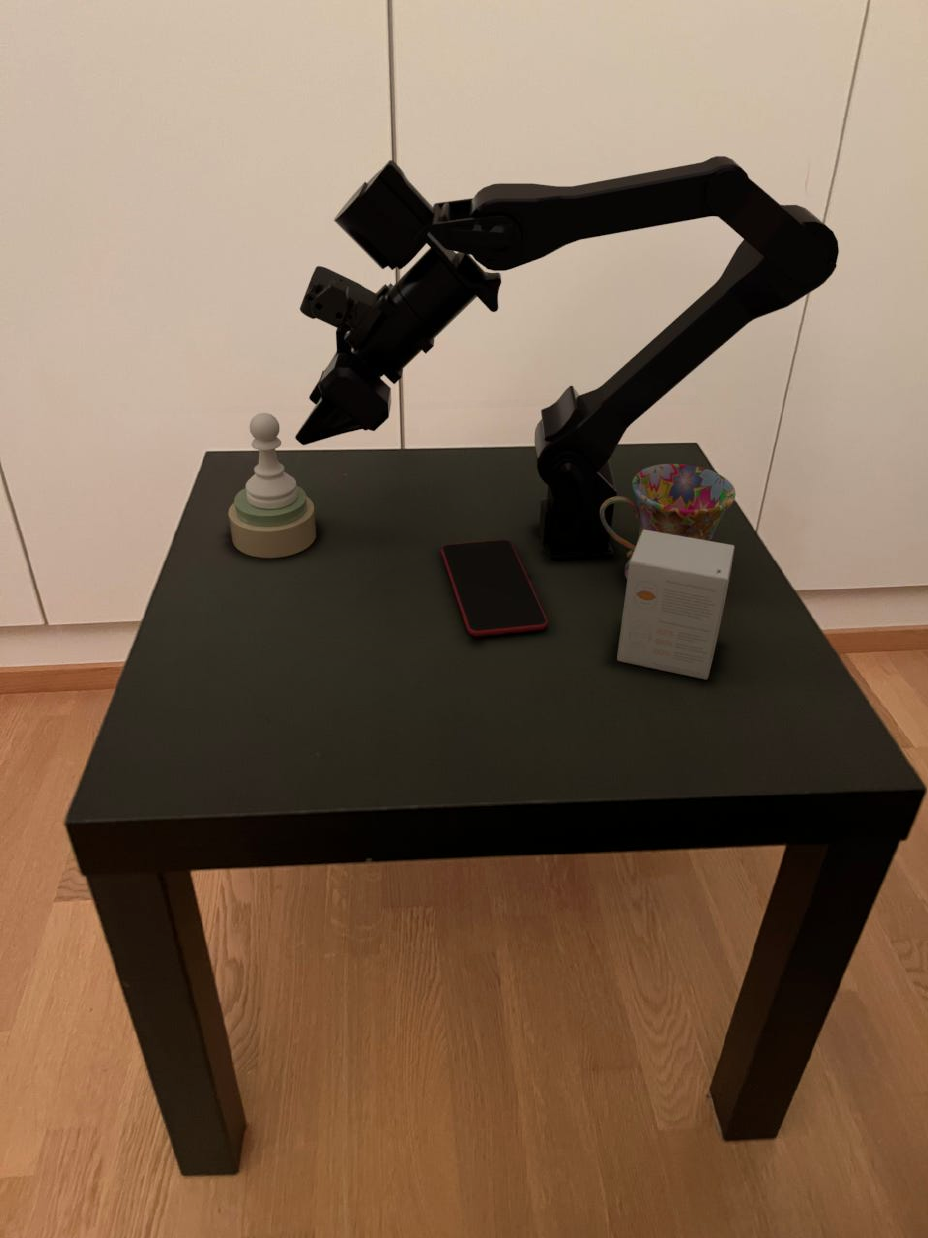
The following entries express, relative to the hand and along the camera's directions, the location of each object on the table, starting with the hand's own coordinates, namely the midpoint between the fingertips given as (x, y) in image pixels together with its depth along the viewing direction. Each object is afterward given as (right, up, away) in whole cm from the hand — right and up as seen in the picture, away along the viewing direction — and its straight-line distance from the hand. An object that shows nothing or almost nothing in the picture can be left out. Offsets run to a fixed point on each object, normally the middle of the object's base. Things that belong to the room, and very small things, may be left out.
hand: (306, 420), depth 91 cm
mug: (+34, -16, +2) cm, 37 cm away
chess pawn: (-4, -7, +5) cm, 10 cm away
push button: (-5, -10, +8) cm, 14 cm away
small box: (+33, -22, -7) cm, 40 cm away
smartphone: (+18, -16, 0) cm, 24 cm away
